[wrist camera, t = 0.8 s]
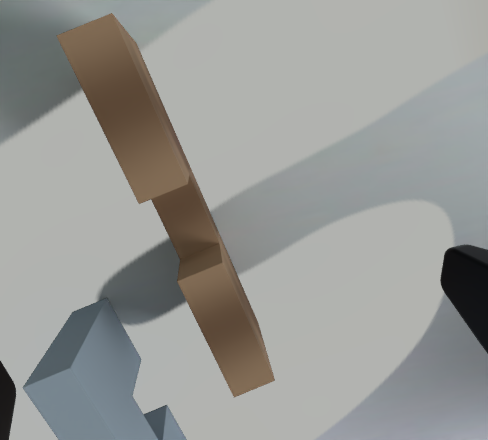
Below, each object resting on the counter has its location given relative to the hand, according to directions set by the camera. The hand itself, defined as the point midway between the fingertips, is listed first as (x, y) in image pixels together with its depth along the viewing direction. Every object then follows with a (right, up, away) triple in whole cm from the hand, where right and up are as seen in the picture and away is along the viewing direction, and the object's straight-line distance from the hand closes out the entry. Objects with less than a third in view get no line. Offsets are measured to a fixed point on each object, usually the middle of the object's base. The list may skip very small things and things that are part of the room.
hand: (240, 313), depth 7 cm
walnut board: (-3, +3, +12) cm, 13 cm away
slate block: (-6, -8, +15) cm, 18 cm away
